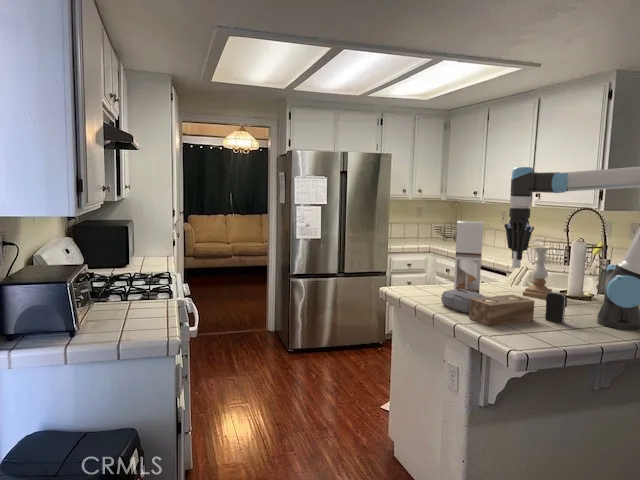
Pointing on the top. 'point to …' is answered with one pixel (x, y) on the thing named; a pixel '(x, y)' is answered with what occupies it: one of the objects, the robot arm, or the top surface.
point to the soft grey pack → (459, 299)
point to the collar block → (501, 310)
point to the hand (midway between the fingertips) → (516, 267)
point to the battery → (555, 306)
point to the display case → (468, 255)
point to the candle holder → (539, 274)
